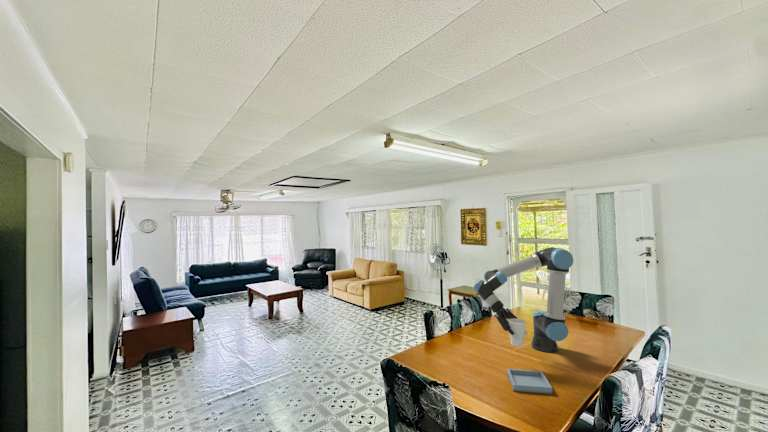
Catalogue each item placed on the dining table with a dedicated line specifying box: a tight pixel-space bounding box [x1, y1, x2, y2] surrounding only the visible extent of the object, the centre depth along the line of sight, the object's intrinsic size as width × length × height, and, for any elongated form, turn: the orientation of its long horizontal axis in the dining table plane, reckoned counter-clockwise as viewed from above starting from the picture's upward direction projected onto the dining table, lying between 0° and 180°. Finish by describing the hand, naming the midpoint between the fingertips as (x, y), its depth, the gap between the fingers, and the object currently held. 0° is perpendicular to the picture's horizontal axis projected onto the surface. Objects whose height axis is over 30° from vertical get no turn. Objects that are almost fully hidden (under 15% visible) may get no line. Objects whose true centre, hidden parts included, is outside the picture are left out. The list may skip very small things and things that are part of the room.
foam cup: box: [507, 318, 526, 347], centre depth 175 cm, size 10×9×13 cm
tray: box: [506, 368, 554, 395], centre depth 155 cm, size 17×17×3 cm
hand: (522, 337), depth 173 cm, fingers closed on foam cup, 9 cm apart
